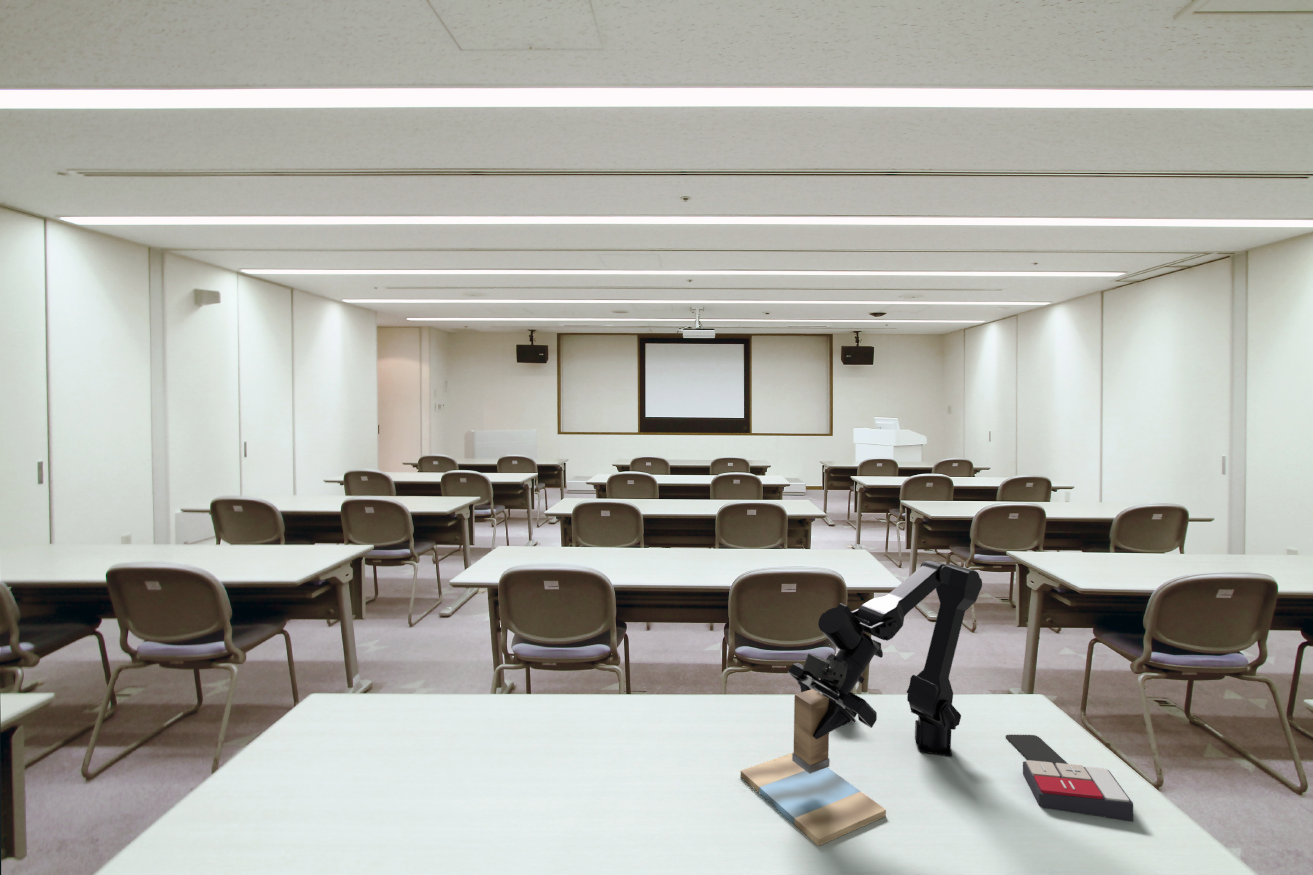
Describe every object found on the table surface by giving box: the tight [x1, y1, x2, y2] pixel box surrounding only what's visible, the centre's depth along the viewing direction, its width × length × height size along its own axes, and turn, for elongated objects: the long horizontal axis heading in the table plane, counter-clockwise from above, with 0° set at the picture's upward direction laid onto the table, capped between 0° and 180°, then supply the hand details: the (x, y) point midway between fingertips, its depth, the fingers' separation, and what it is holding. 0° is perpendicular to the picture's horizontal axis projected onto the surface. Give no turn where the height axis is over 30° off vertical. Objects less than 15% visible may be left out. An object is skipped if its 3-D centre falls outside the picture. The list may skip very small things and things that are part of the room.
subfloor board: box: [740, 751, 887, 847], centre depth 121 cm, size 22×16×1 cm
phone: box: [1005, 734, 1069, 764], centre depth 134 cm, size 7×1×15 cm
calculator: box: [1022, 759, 1134, 823], centre depth 121 cm, size 11×4×15 cm
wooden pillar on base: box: [791, 689, 830, 774], centre depth 120 cm, size 5×5×13 cm
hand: (805, 731), depth 119 cm, fingers closed on wooden pillar on base, 4 cm apart
